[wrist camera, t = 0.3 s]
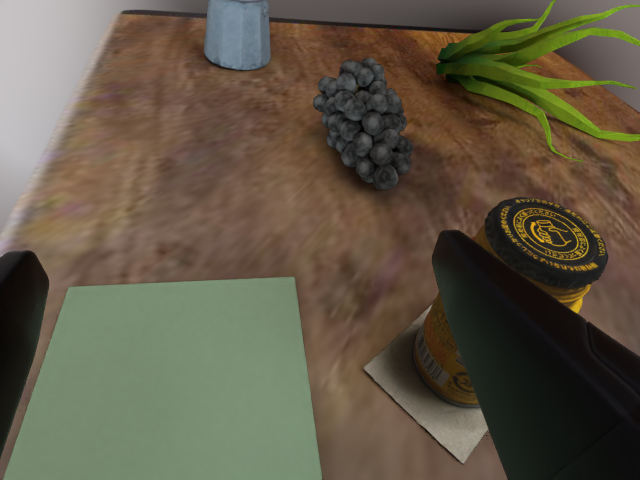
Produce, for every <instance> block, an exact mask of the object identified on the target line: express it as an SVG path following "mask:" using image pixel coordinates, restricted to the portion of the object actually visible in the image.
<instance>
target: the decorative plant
mask: <svg viewBox="0 0 640 480" xmlns="http://www.w3.org/2000/svg"><path fill="white" fill-rule="evenodd" d="M555 1H556V0H553V1H552V2H551V4H550V5H549V7H548V8H547V10H546V11H545V13H544V14H543V16H542V17H540V18H538V19H530V18H529V19H515V20H506V21H503V22H500V23H498V24H495V25H493V26H491V27H490V28H488V29H486V30H484V31H481V32H479V33H476V34H472V35H469V36H468V37H467V38H466V39H464V40H463V41H461V42H459V43H449V44H448V45H447V47H446V48H442V49H441V51H440V54H439V56H438V60H439V61H441V62H440V63H438V64H436V67H437V75H439V74H446V75H445V76H446V79H447V82H453V83H461V84H462V85H463V86H464V87H465V89H466V90H467V91H469V92H471V93H475V94H481V95H485V96H488V97H491V98H494V99H497V100H500V101H503V102H506V103H509V104H512V105H514V106H516V107H518V108H520V109H522V110H524V111H526V112H528V113H530V114H532V115H534V116H536V117H537V118H538V120H539V122H540V123H541V125H542V127H543V128H544V130H545V134H546V138H547V143H548V145H549V147H550V148H551V149H552V151H553V152H555V153H557V154H559V155H561V156H563V157H565V158H567V157H566V156H564V155H562V154H561V153H559V152H557V151H555V149H554V148H553V146H552V144H551V133H550V127H549V124H548V121H547V118H546V116H545V113H544V112H543V111H542V110H540V109H539V108H537V107H536V106H534V105H533V104H531V103H529V102H528V101H526V100H525V99H527V100H529V101H531V102H532V103H534V104H536V105H537V106H539V107H540V108H542V109H544V110H545V111H547V112H548V113H550V114H552V115H553V116H555V117H557V118H558V119H560V120H561V121H563V122H565V123H568V124H570V125H572V126H574V127H576V128H578V129H580V130H582V131H584V132H587V133H589V134H591V135H593V136H595V137H597V138H604V139H613V140H622V141H637V140H640V134H635V135H630V134H624V133H617V132H610V131H603V130H600V129H599V128H598V127H596V126H595V125H594V124H593V123H592V122H590V121H589V120H588V119H587V118H585V117H584V116H583V115H582V114H581V113H579V112H578V111H577V110H576V109H575V108H573V107H572V106H571V105H569V104H568V103H566V102H565V101H563V100H561V99H560V98H558V97H557V96H555V95H553V94H552V93H550V92H548V91H547V90H545V89H555V88H574V87H582V86H590V85H601V84H614V85H619V86H623V87H628V88H633V89H637V88H635V87H633V86H630V85H626V84H622V83H619V82H615V81H567V80H559V79H551V78H545V77H542V76H539V75H536V74H533V73H530V72H527V71H524V70H521V69H518V68H521V67H524V66H537V65H524V64H526V63H528V62H530V61H532V60H534V59H536V58H538V57H540V56H543V55H545V54H547V53H549V52H551V51H553V50H556V49H558V48H560V47H562V46H565V45H567V44H570V43H572V42H574V41H576V40H579V39H581V38H584V37H586V36H588V35H598V36H608V37H617V38H620V39H623V40H625V41H628V42H630V43H633V44H636V45H638V46H640V41H639V40H637V39H635V38H633V37H631V36H630V35H628V34H626V33H624V32H622V31H617V30H610V29H603V28H596V27H592V28H587V29H582V30H578V31H573V32H569V33H564V32H566V31H569V30H571V29H574V28H577V27H579V26H582V25H585V24H588V23H591V22H595V21H598V20H601V19H604V18H606V17H607V16H609V15H611V14H613V13H614V12H616V11H618V10H621V9H624V8H627V7H640V5H625V6H621V7H616V8H614V9H611V10H609V11H606V12H604V13H600V14H593V15H586V16H580V17H576V18H573V19H570V20H567V21H564V22H561V23H558V24H555V25H552V26H549V27H546V28H543V29H541V30H538V29H539V27H540V26H541V24H542V23H543V21H544V20H545V18H546V17H547V15H548V14H549V13H550V12H549V11H550V9H551V7H552V5H553V3H554V2H555ZM537 20H538V22H537V23H536V24H535V25H534V26H533V27H531V28H527V29H523V30H519V31H514V32H503V33H499V32H501V31H502V30H503V29H504V28H505V27H507V26H510V25H513V24H516V23H521V22H529V21H537ZM537 30H538V31H537ZM561 33H563V34H561ZM526 47H527V48H526ZM524 48H525V49H524ZM521 49H522V50H521ZM519 50H520V51H519ZM508 52H512V53H508ZM500 53H508V54H504V55H493V54H500ZM538 67H540V66H538ZM541 68H542V67H541ZM523 98H525V99H523ZM568 159H572V158H568ZM572 160H576V159H572ZM577 161H581V160H577ZM581 162H583V161H581Z"/></svg>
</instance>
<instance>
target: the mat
mask: <svg viewBox="0 0 640 480" xmlns="http://www.w3.org/2000/svg"><path fill="white" fill-rule="evenodd" d="M3 480H322V474H321V467H320V459H319V452H318V445H317V437H316V430H315V423H314V415H313V408H312V401H311V393H310V386H309V379H308V371H307V364H306V357H305V349H304V342H303V335H302V327H301V320H300V313H299V305H298V298H297V291H296V283H295V277H276V278H253V279H231V280H209V281H187V282H165V283H143V284H121V285H98V286H76V287H69V288H68V291H67V293H66V296H65V299H64V302H63V305H62V308H61V311H60V314H59V317H58V320H57V323H56V326H55V329H54V332H53V335H52V338H51V340H50V343H49V346H48V349H47V352H46V355H45V358H44V361H43V364H42V367H41V370H40V373H39V376H38V379H37V382H36V384H35V387H34V390H33V393H32V396H31V399H30V402H29V405H28V408H27V411H26V414H25V417H24V420H23V423H22V426H21V429H20V431H19V434H18V437H17V440H16V443H15V446H14V449H13V452H12V455H11V458H10V461H9V464H8V467H7V470H6V473H5V476H4V478H3Z"/></svg>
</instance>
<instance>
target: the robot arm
mask: <svg viewBox="0 0 640 480" xmlns="http://www.w3.org/2000/svg"><path fill="white" fill-rule="evenodd" d="M432 265H433V269H434V273H435V277H436V281H437V285H438V288H439V292H440V296H441V300H442V304H443V308H444V312H445V315H446V319H447V322H448V324H449V327H450V330H451V332H452V335H453V338H454V340H455V343H456V346H457V348H458V351H459V353H460V356H461V359H462V361H463V364H464V366H465V369H466V372H467V374H468V377H469V379H470V382H471V385H472V387H473V390H474V393H475V395H476V398H477V400H478V403H479V406H480V408H481V411H482V413H483V416H484V419H485V421H486V424H487V426H488V429H489V432H490V434H491V437H492V440H493V442H494V445H495V447H496V450H497V453H498V455H499V458H500V460H501V463H502V466H503V468H504V471H505V473H506V476H507V479H508V480H640V356H638V355H637V354H635V353H634V352H632V351H631V350H629V349H628V348H626V347H625V346H623V345H622V344H620V343H619V342H617V341H616V340H614V339H613V338H611V337H610V336H608V335H607V334H605V333H604V332H603V331H601V330H600V329H598V328H597V327H596V326H594V325H593V324H591V323H590V322H586V320H585V319H584V318H583V317H581V316H580V315H578V314H577V313H576V312H574V311H573V310H571V309H570V308H569V307H567V306H566V305H564V304H563V303H561V302H560V301H559V300H557V299H556V298H554V297H553V296H552V295H550V294H549V293H547V292H546V291H544V290H543V289H542V288H540V287H539V286H537V285H536V284H535V283H533V282H532V281H530V280H529V279H527V278H526V277H525V276H523V275H522V274H520V273H519V272H518V271H516V270H515V269H513V268H512V267H510V266H509V265H508V264H506V263H505V262H503V261H502V260H501V259H499V258H498V257H496V256H495V255H493V254H492V253H491V252H489V251H488V250H486V249H485V248H484V247H482V246H481V245H479V244H478V243H477V242H475V241H474V240H472V239H471V238H469V237H468V236H467V235H465V234H464V233H462V232H461V231H459V230H444V231H442V232H441V233H440V234H439V237H438V240H437V243H436V246H435V249H434V251H433V255H432ZM48 290H49V279H48V276H47V274H46V272H45V271H44V269H43V267H42V265H41V263H40V262H39V260H38V258H37V256H36V255H35V253H33V252H32V251H29V250H25V251H11V252H8V253H6V254H4V255H3V256H1V257H0V458H1V455H2V452H3V449H4V446H5V443H6V440H7V437H8V434H9V431H10V428H11V425H12V422H13V419H14V416H15V413H16V410H17V407H18V404H19V401H20V398H21V395H22V392H23V389H24V386H25V383H26V380H27V377H28V374H29V371H30V368H31V365H32V362H33V359H34V356H35V352H36V348H37V344H38V340H39V335H40V330H41V325H42V320H43V315H44V310H45V305H46V300H47V295H48Z"/></svg>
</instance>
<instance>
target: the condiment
mask: <svg viewBox="0 0 640 480" xmlns="http://www.w3.org/2000/svg"><path fill="white" fill-rule="evenodd" d="M471 239H472V240H474V241H475V242H477V243H478V244H479V245H481V246H482V247H484V248H485V249H486V250H488V251H489V252H491V253H492V254H493V255H495V256H496V257H498V258H499V259H501V260H502V261H503V262H505V263H506V264H508V265H509V266H510V267H512V268H513V269H515V270H516V271H518V272H519V273H520V274H522V275H523V276H525V277H526V278H527V279H529V280H530V281H532V282H533V283H535V284H536V285H537V286H539V287H540V288H542V289H543V290H544V291H546V292H547V293H549V294H550V295H552V296H553V297H554V298H556V299H557V300H559V301H560V302H561V303H563V304H564V305H566V306H567V307H569V308H570V309H571V310H573V311H574V312H576V313H577V314H578V312H579V310H580V308H581V305H582V297H583V296H584V295H585V294H586V293H587V291H588V290H589V289H590V286H591V284H592V283H593V282H594V281H596V280H598V279H599V277H600V276H601V274H602V273H603V271H604V269H605V266H606V264H607V261H608V254H607V251H606V246H605V243H604V241H603V239H602V238H601V237H600V235H599V234H598V233H597V231H596V230H595V229H594V228H593V227H592V226H591V225H589V224H588V223H587V222H586V221H585V220H584V219H583V218H582V217H580V216H579V215H577V214H576V213H574V212H572V211H570V210H569V209H567V208H564V207H562V206H561V205H560V204H555V203H552V202H549V201H546V200H543V199H537V198H525V197H518V198H513V199H509V200H504V201H501V202H500V203H499V204H498V205H497V206H496V207H494V208H493V209H492V211H490V212H489V213H488V216H487V218H486V219H485V224H484V225H483V226H482V227H481V229H480V230H479V232H478V233H477V235H476V236H475V237H473V238H471ZM364 369H365V370H366V371H367V372H368V373H369V374H370V375H371V376H372V377H373V378H374V380H375V381H376V382H377V383H378V384H379V385H380V386H381V387H382V388H383V389H384V390H385V391H386V392H387V393H388V394H390V395H391V396H392V397H393V398H394V400H395V401H396V402H397V403H398V404H399V405H401V406H402V407H403V408H404V409H405V410H406V411H407V412H408V413H409V414H410V415H411V416H412V417H413V418H414V419H415V420H416V422H417V423H419V424H420V425H422V426H423V427H424V428H425V429H426V430H427V431H429V432H430V433H431V434H432V435H433V436H434V437H435V438H436V439H437V440H438V441H439V442H440V443H441V444H442V445H443V446H444V447H445V448H447V449H448V450H449V451H450V452H451V453H452V454H453V455H454V456H455V457H456V458H457V459H458V460H459V461H460V462H462V463H464V462H465V461H466V459H467V458H468V456H469V455H470V454H471V452H472V451H473V449H474V448H475V447H476V445H477V444H478V442H479V441H480V440H481V438H482V437H483V435H484V434H485V432H486V431H487V430H488V426H487V424H486V421H485V419H484V416H483V413H482V411H481V408H480V406H479V403H478V400H477V398H476V395H475V393H474V390H473V387H472V385H471V382H470V379H469V377H468V374H467V372H466V369H465V366H464V364H463V361H462V359H461V356H460V353H459V351H458V348H457V346H456V343H455V340H454V338H453V335H452V332H451V330H450V327H449V324H448V322H447V319H446V315H445V312H444V308H443V304H442V300H441V296H440V292H439V293H438V295H437V297H436V299H435V301H434V303H433V304H432V305H431V306H430V307H429V308H428V309H427V310H426V311H425V312H424V313H422V314H421V315H420V316H419V317H418V318H417V319H416V320H415V321H414V322H413V323H412V324H411V325H410V326H409V327H407V328H406V329H405V330H404V331H403V332H402V333H401V334H399V335H398V336H397V337H396V338H395V339H394V340H393V341H392V342H391V343H390V344H389V345H388V346H387V347H386V348H385V349H383V350H382V351H381V352H380V353H379V354H378V355H377V356H376V357H374V358H373V359H372V360H371V361H370V362H369V363H368V364H367V365H366V366H365V367H364Z"/></svg>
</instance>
